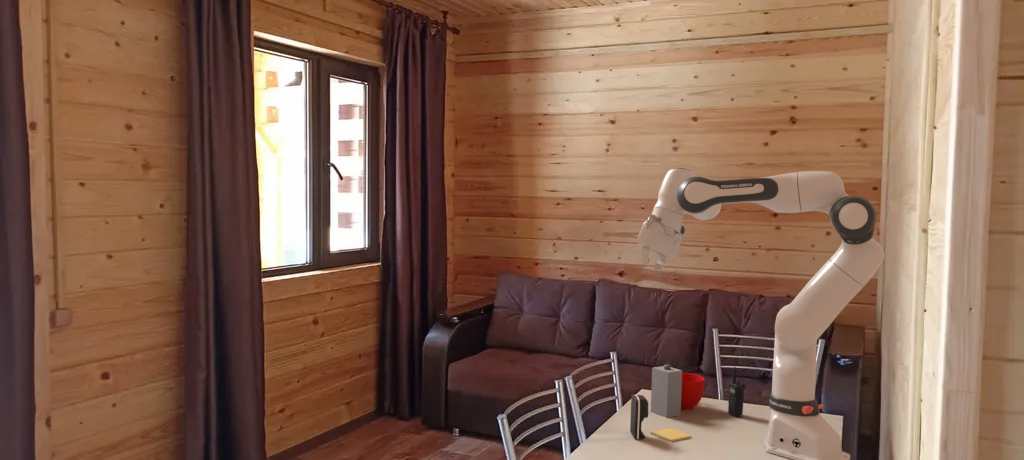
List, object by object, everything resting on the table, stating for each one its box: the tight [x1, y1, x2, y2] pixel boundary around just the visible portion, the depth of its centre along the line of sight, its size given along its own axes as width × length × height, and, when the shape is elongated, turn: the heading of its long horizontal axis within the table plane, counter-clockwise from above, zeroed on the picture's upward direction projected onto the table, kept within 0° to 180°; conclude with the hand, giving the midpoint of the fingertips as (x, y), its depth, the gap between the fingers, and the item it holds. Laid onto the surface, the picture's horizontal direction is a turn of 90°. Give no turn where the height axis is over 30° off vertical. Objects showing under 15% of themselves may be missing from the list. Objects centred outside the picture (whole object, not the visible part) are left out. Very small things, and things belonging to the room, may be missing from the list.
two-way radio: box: [727, 366, 746, 418], centre depth 237 cm, size 6×4×15 cm
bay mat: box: [650, 427, 692, 443], centre depth 215 cm, size 8×8×1 cm
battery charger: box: [629, 394, 649, 440], centre depth 213 cm, size 7×4×11 cm, turn 3°
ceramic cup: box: [681, 372, 706, 412], centre depth 245 cm, size 13×17×10 cm
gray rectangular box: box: [650, 364, 683, 418], centre depth 237 cm, size 7×6×15 cm
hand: (650, 266), depth 220 cm, fingers open, 8 cm apart
